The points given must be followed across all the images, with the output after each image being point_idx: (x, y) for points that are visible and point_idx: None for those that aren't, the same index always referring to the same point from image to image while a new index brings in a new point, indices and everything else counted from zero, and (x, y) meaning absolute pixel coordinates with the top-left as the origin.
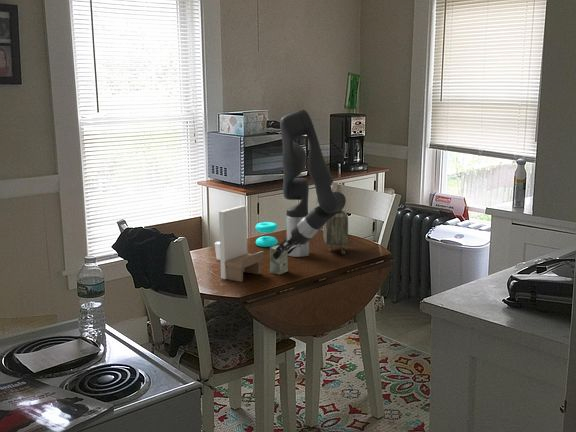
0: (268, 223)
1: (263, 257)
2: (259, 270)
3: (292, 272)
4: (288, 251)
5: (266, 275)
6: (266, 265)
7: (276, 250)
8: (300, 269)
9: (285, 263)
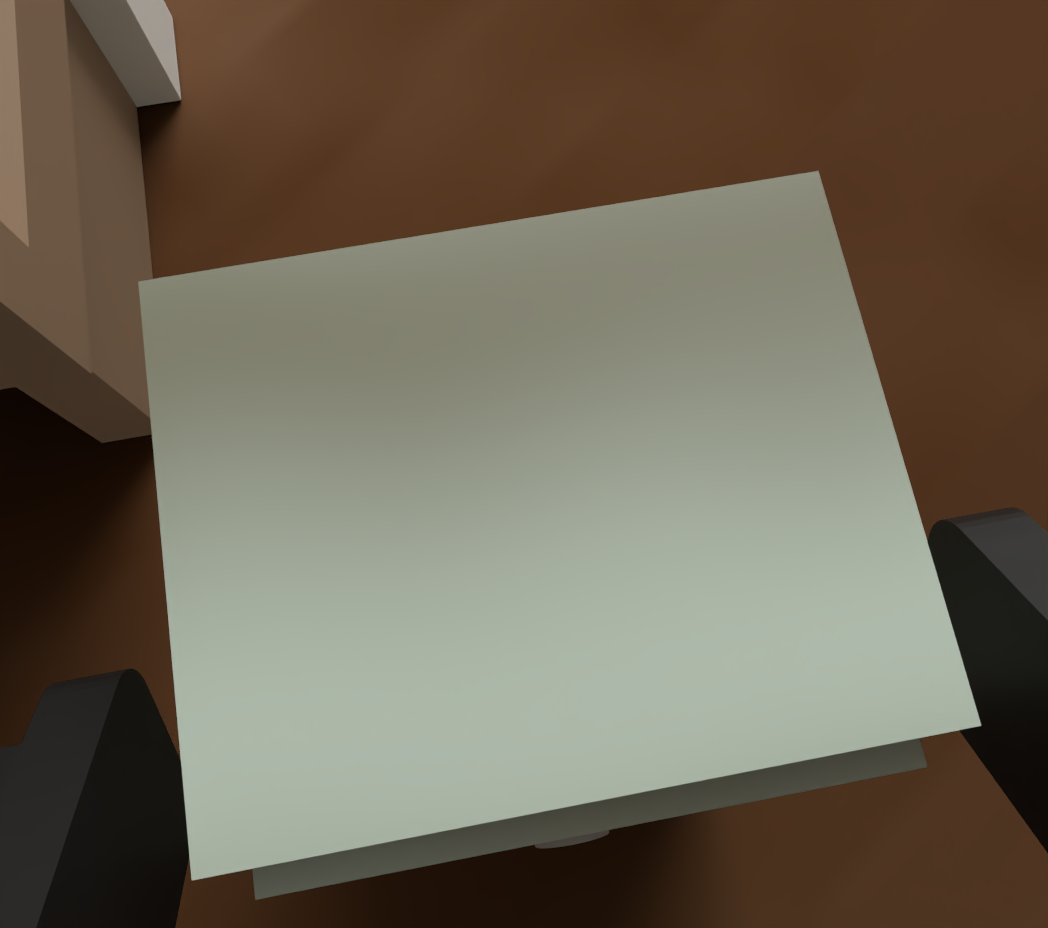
0: None
1: (34, 347)
2: (101, 412)
3: (713, 891)
4: (975, 674)
5: (153, 611)
6: (667, 123)
7: (198, 695)
8: (1017, 858)
9: (568, 843)
